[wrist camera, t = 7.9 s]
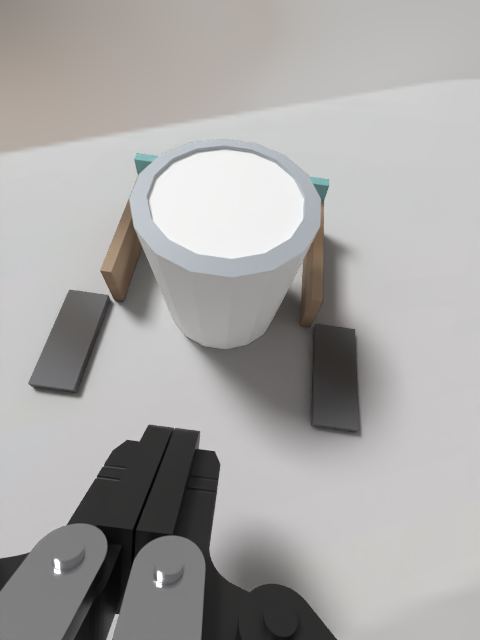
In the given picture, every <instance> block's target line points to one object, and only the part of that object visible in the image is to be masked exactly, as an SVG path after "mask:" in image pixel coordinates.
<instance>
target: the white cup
mask: <svg viewBox="0 0 480 640" xmlns="http://www.w3.org/2000/svg"><path fill="white" fill-rule="evenodd" d="M129 201H130V207H131V213H132V219H133V225H134V229H135V231H136V233H137V236H138V238H139V240H140V243H141V245H142V248H143V250H144V252H145V255H146V257H147V259H148V262H149V264H150V266H151V269H152V271H153V273H154V276H155V278H156V281H157V283H158V285H159V288H160V290H161V292H162V295H163V297H164V299H165V302H166V304H167V306H168V309H169V311H170V314H171V316H172V318H173V320H174V322H175V323H176V324H177V326H178V327H179V328H180V330H181V331H182V332H183V333H184V335H185V336H187V337H188V338H190V339H192V340H194V341H195V342H197V343H199V344H201V345H202V346H205V347H212V348H219V349H231V348H235V347H240V346H244V345H248V344H249V343H251V342H252V341H254V340H255V339H257V338H258V337H260V336H261V335H263V334H264V333H265V332H266V330H267V328H268V327H269V325H270V323H271V322H272V320H273V319H274V317H275V315H276V313H277V311H278V309H279V307H280V305H281V303H282V301H283V299H284V297H285V295H286V293H287V291H288V289H289V287H290V285H291V283H292V281H293V279H294V277H295V275H296V273H297V271H298V269H299V267H300V265H301V263H302V261H303V259H304V257H305V255H306V253H307V251H308V249H309V247H310V245H311V243H312V242H313V240H314V238H315V236H316V234H317V232H318V230H319V228H320V221H321V198H320V196H319V194H318V192H317V190H316V188H315V187H314V185H313V183H312V181H311V179H310V177H309V175H308V174H307V173H306V172H304V171H303V170H302V169H301V168H300V167H299V166H297V165H296V164H295V163H294V162H293V161H291V160H290V159H289V158H288V157H287V156H285V155H283V154H281V153H278V152H276V151H273V150H271V149H268V148H266V147H264V146H261V145H259V144H256V143H250V142H243V141H236V140H229V139H216V140H207V141H198V142H190V143H187V144H185V145H183V146H180V147H178V148H175V149H173V150H170V151H168V152H165V153H163V154H161V155H160V156H159V157H157V158H156V159H155V160H154V161H153V162H152V163H151V164H150V165H148V166H147V167H146V168H145V169H144V170H143V171H142V172H141V173H139V176H138V178H137V181H136V183H135V186H134V188H133V191H132V193H131V195H130V198H129Z"/></svg>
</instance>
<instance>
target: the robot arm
mask: <svg viewBox="0 0 480 640" xmlns="http://www.w3.org/2000/svg"><path fill="white" fill-rule="evenodd" d="M199 440H200V431H195V430H187V429H179V428H175V430H174V428H171V427H163V426H156V425H148V427H147V429H146V431H145V432H144V434H143V436H142V438H141V440H140V442H138V441H131V440H127V441H125V442H124V443H122V444H121V445H120V446H118V447H117V448H116V449H114V450H113V451H112V453H111V454H110V456H109V458H108V459H107V461H106V462H105V464H104V467H102V469H101V471H100V472H99V474H98V475H97V479H95V480H94V482H93V483H92V485H91V487H90V488H89V490H88V492H87V493H86V495H85V496H84V498H83V500H82V501H81V503H80V504H79V506H78V508H77V509H76V511H75V513H74V514H73V516H72V517H71V519H70V521H69V522H68V524H67V525H66V526H63V527H61V528H58V529H56V530H54V531H52V532H50V533H49V534H48V535H46V536H45V537H44V538H43V539H41V540H40V541H39V542H38V543H37V545H36V546H35V547H34V548H33V549H32V551H31V552H29V553H26V554H23V555H18V556H13V557H7V558H1V559H0V640H106V638H107V636H108V633H109V630H110V627H111V624H112V621H113V619H114V616H115V614H119V617H118V620H117V624H116V628H115V631H114V635H113V639H112V640H337V639H336V638H335V637H334V635H333V634H332V633H331V632H330V630H329V629H328V628H327V627H326V626H325V624H324V623H323V622H322V621H321V619H320V618H319V617H318V616H317V614H316V613H315V612H314V611H313V609H312V608H311V607H310V606H309V604H308V603H307V602H306V601H305V600H304V599H303V598H302V597H301V596H300V595H299V594H298V593H297V592H295V591H293V590H292V589H290V588H288V587H285V586H282V585H278V584H265V585H262V586H259V587H257V588H255V589H254V590H252V591H251V592H250V593H249V592H247V591H245V590H243V589H241V588H239V587H237V586H235V585H233V584H232V583H230V582H228V581H227V580H226V579H225V578H223V577H222V576H221V575H220V573H219V572H218V571H217V570H216V568H215V567H214V565H213V563H212V561H211V557H210V552H209V546H210V539H211V532H212V524H213V517H214V510H215V502H216V494H217V486H218V479H219V471H220V463H219V460H218V458H217V456H216V453H215V451H208V450H200V449H199Z"/></svg>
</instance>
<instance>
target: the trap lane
mask: <svg viewBox="0 0 480 640" xmlns="http://www.w3.org/2000/svg"><path fill="white" fill-rule="evenodd" d="M137 178H138V177H137ZM136 181H137V180H136ZM135 183H136V182H135ZM134 186H135V185H134ZM133 188H134V187H133ZM132 191H133V190H132ZM131 193H132V192H131ZM129 198H130V197H129ZM323 236H324V201H321V221H320V228H319V230H318V232H317V234H316V236H315V238H314V240H313V242H312V243H311V245H310V247H309V249H308V251H307V253H306V255H305V257H304V259H303V275H302V297H301V320H300V326H306V327H310V326H311V324H312V322H313V320H314V318H315V316H316V314H317V312H318V310H319V308H320V306H321V304H322V302H323ZM141 249H142V245H141V243H140V240H139V238H138V236H137V233H136V231H135V229H134V225H133V219H132V213H131V207H130V201H129V200H128V202H127V205H126V207H125V210H124V212H123V215H122V217H121V220H120V222H119V225H118V227H117V230H116V232H115V235H114V237H113V240H112V242H111V245H110V247H109V250H108V252H107V255H106V257H105V260H104V262H103V265H102V267H101V270H100V271H101V273H102V275H103V277H104V280H105V282H106V284H107V286H108V288H109V290H110V292H111V294H112V296H113V299H114V300H119V301H124V299H125V296H126V293H127V290H128V287H129V284H130V281H131V278H132V275H133V272H134V269H135V266H136V263H137V261H138V258H139V255H140V252H141ZM109 302H110V298H109V296H108V295H104V294H97V293H89V292H82V291H75V290H69V292H68V294H67V296H66V298H65V301H64V303H63V305H62V308H61V310H60V312H59V314H58V317H57V319H56V321H55V324H54V326H53V328H52V330H51V333H50V335H49V337H48V340H47V342H46V344H45V346H44V349H43V351H42V353H41V356H40V358H39V360H38V362H37V365H36V367H35V369H34V372H33V374H32V376H31V378H30V381H29V383H28V384H29V385H31V386H32V387H39V388H46V389H53V390H60V391H67V392H74V393H77V390H78V387H79V384H80V382H81V379H82V376H83V373H84V371H85V368H86V365H87V362H88V360H89V357H90V354H91V351H92V349H93V346H94V343H95V340H96V337H97V335H98V332H99V329H100V326H101V324H102V321H103V318H104V315H105V313H106V310H107V307H108V304H109ZM311 426H316V427H323V428H331V429H338V430H345V431H352V432H357V431H359V415H358V391H357V367H356V343H355V329H349V328H342V327H334V326H327V325H320V324H315V326H314V336H313V378H312V421H311Z"/></svg>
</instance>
